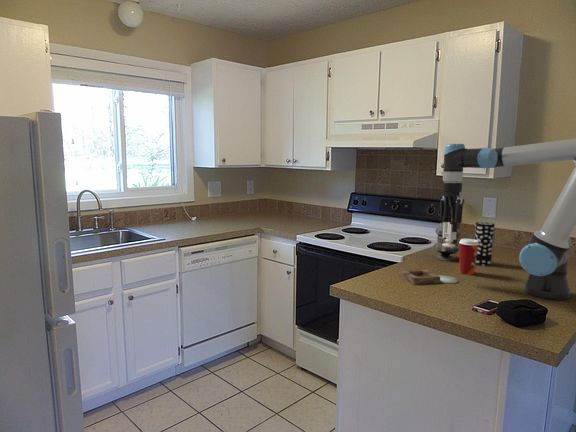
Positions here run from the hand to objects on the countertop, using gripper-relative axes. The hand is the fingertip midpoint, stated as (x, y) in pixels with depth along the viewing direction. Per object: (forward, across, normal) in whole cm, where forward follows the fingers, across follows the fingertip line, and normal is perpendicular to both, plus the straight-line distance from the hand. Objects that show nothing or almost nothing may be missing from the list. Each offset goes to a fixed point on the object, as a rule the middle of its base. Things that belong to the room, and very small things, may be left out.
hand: (449, 238), depth 172 cm
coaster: (+18, +1, 0) cm, 18 cm away
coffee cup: (+18, +9, -16) cm, 26 cm away
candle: (+3, 0, 0) cm, 3 cm away
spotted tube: (+18, +22, -34) cm, 44 cm away
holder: (+18, +4, +11) cm, 21 cm away
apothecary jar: (+18, +34, -22) cm, 44 cm away
